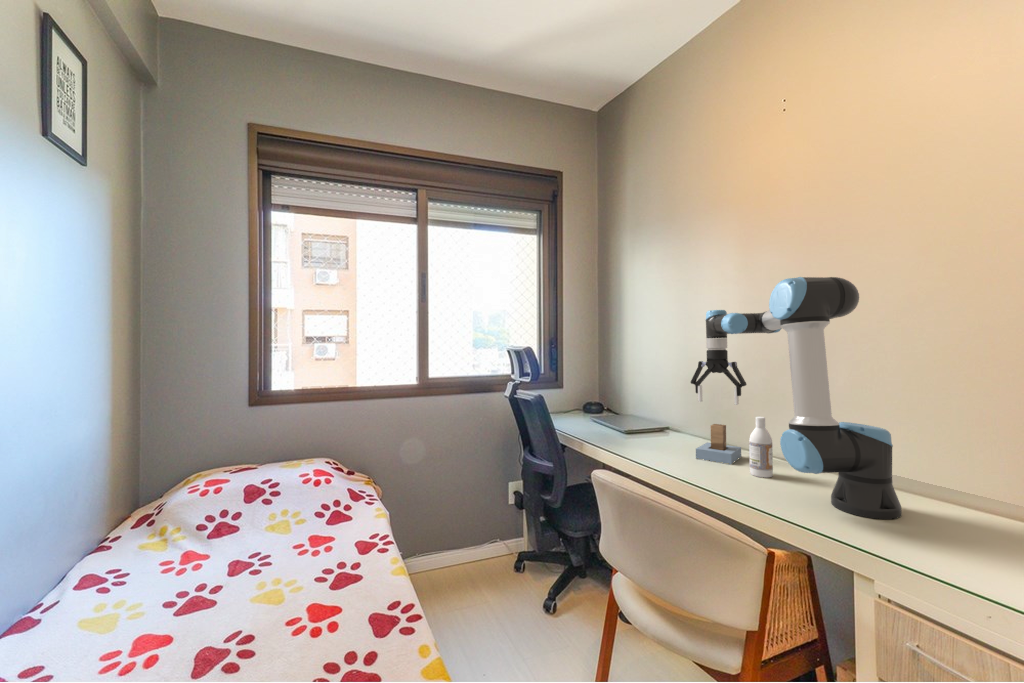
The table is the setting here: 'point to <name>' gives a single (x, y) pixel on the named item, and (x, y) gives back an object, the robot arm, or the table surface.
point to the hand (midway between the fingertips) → (717, 403)
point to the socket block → (718, 453)
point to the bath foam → (761, 450)
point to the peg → (718, 437)
